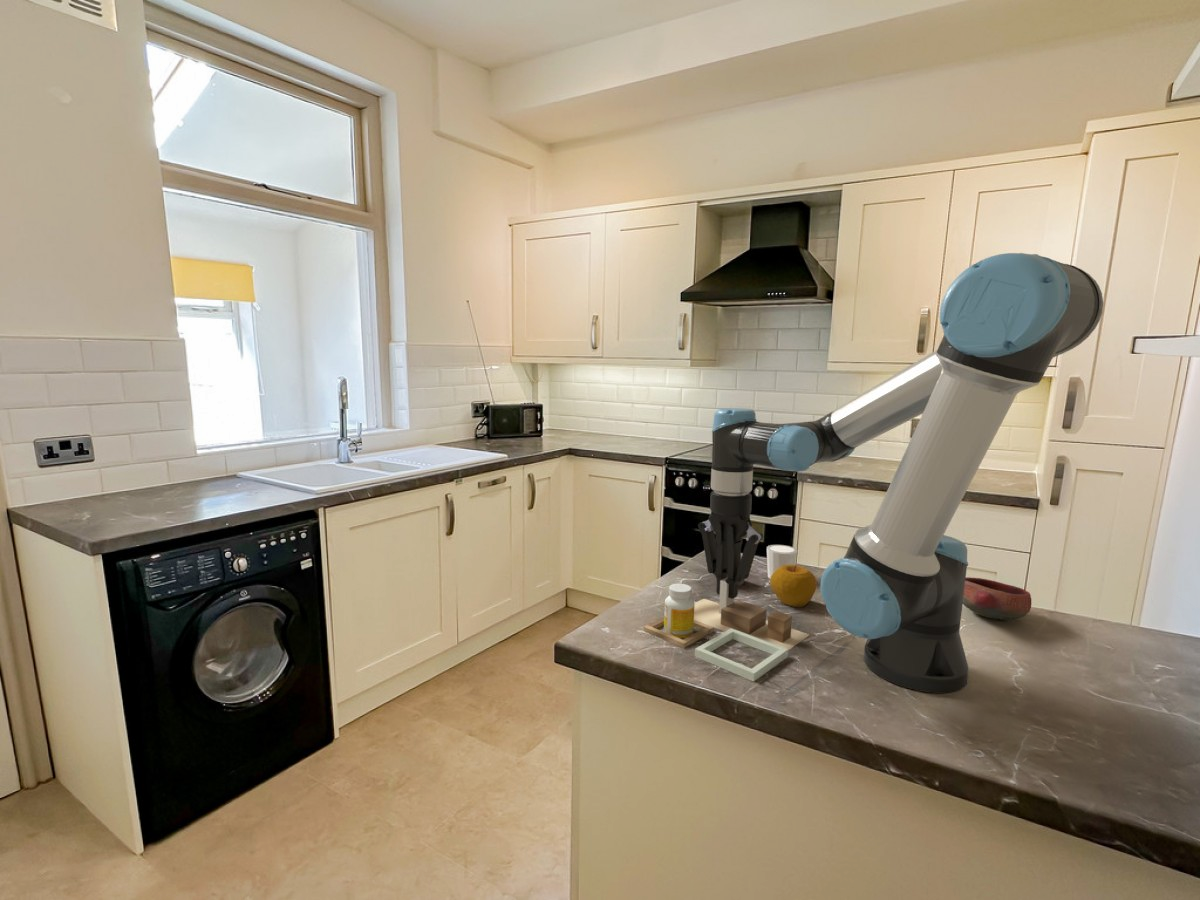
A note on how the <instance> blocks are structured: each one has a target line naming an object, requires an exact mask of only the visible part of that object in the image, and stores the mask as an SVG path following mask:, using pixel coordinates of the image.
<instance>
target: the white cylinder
mask: <svg viewBox="0 0 1200 900" xmlns="http://www.w3.org/2000/svg"><path fill="white" fill-rule="evenodd" d="M797 555H798V550H797V549H796V548H795V547H792V546H790V545H784V544H770V545H768V546H766V562H767V563H766V564H767V578H768V579H770V578H771V575H772V574H773V573H774V572H775V571H776V570H777V569H778V568H779V567H781V566H783V565H796V560H797Z"/></svg>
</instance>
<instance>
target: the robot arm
mask: <svg viewBox="0 0 1200 900" xmlns="http://www.w3.org/2000/svg"><path fill="white" fill-rule="evenodd" d="M1103 308H1104V298H1103V293H1102V290H1101V288H1100V285H1099V283H1098V282H1097V280H1095V279H1094V278H1093V277H1092V275H1090V273H1088V272H1087V271H1085V270H1083V269H1082V268H1079V267H1077V266H1075V265H1072V264H1067V263H1063V262H1060V261H1057V260H1054V259H1052V258H1050V257H1046V256H1041V255H1039V254H1038V253H1033V254H1031V253H1024V252H1019V253H1018V252H1007V253H1000V254H995V255H992V256H988V257H986V258H984V259H981V260H979V261H978V262H976V263H973V264H972V265H970V266H969V267H967V268H965V269H964V271H962V272H961V273H959V275H958V276H957V277H956V278H955V279H954V280H953V281H952V283H951V284H950V286H948V289H946V291H945V294H944V296H943V299H942V301H941V305H940V310H939V323H940V325H941V328H942V332H943V337H942V338H941V341H940V343H939V346H938V348H937V349H935V350H934V351H933V352H931V353H929V354H927V355H926V356H924V357H922V358H921V359H919V360H917V361H915V362H914V363H912V364H910V365H908V366H907V367H906V368H904V369H902V370H900V371H898V372H897V373H895V374H893V375H892V376H889V377H888V378H887V379H885V380H883V381H882V382H879V383H878V384H876V385H875V386H872V387H871V388H870V389H868V390H867V391H864V392H862V393H861V394H859V395H857V396H856V397H855V398H853V399H850V400H849V401H847V402H846V403H844V404H842V405H841V406H839V407H836V408H835V409H834V410H833V411H831V412H829V413H827V414H826V415H824V416H822V417H821V418H819V419H816V420H812V421H811V420H809V421H802V422H800V421H799V422H790V423H789V422H788V423H787V422H786V423H771V422H761V421H758V420H757V417H756V415H757V414H756V411H755V410H753V409H751V408H739V407H725V408H723V407H722V408H719V409H717V410H716V411H715V412H714V414H713V422H712V423H713V424H712V430H711V434H712V438H711V439H712V441H711V442H712V443H711V444H712V446H711V447H712V450H711V452H712V453H711V454H712V455H711V473H710V489H711V490H712V491H711V492H710V497H709V498H710V499H709V500H710V501H709V503H710V505H709V509H710V511H711V512H710V514H709V516H708V519H707V520H705V521H702V522H698V524H697V527H698V530H699V531H700V534H701V537H702V543H703V549H704V555H705V561H706V567H707V571H708V573H709V574H711V575H715V576H716V578H717V582H716V594H717V595H718V596H719V602H718V603H719V613H720V614H721V609H722V608H724V607H726V606H728V605H730V604H732V603H734V602H735V599H736V598H737V596H738V593H739V592H738V591H739V586H738V582H741V581H743V580H744V581H745V580H747V579H748V578H749V575H750V572H751V569H752V566H753V562H754V558H755V555H756V552H757V548H758V545H759V544H760V542H761V541H762V540H763V539H764V534H763V533H762V532H757V531H756V530H755V529H754V528H753V525H752V524H753V523H752V520H751V513H752V503H753V502H752V499H753V498H752V497H753V495H752V494H751V492H752V490H753V478H754V477H753V475H754V465H757V466H763V467H767V468H771V469H772V468H773V469H777V470H781V471H785V472H789V471H790V472H792V471H793V472H800V473H801V472H804V471H807V470H808V469H809V468H810V467H811V466H812V465H814V464H818V463H819V464H820V463H827V462H828V463H829V462H830V463H831V462H837V461H839V460H842V459H845V458H848V457H849V456H850V455H852V453H853V452H854V451H855V449H856V448H858V447H860V446H861V445H864V444H865V443H867V442H869V441H871V440H874V439H875V438H878V437H879V436H881V435H883V434H885V433H887V432H890V431H892V430H893V429H896V428H897V427H899V426H900V425H901V426H902V425H903V424H904V423H908V422H909V421H910V420H911V421H912V420H913V419H915V418H918V416H921V417H920V419H919V421H918V423H917V424H916V425H917V426H916V428H915V429H914V432H913V433H912V436H911V438H910V441H909V443H908V444H907V447H906V449H905V451H904V454H903V455H902V458H901V460H900V461H899V464H898V466H897V469H896V471H895V473H894V476H893V477H892V479H891V482H890V484H889V487H888V489H887V490H886V492H885V494H884V496H883V499H882V502H881V503H880V506H879V508H878V510H877V512H876V514H875V517H874V519H873V520H872V523H871V524H870V525H867V526H863V527H859V528H858V529H857V530H856V531H855V533H854V535H853V536H852V539H851V542H850V544H849V546H848V549H847V551H846V553H845V555H844V556H843V558H839V559H836V560H834V561H833V562H832V563H830V564H829V565H828V566H827V567H826V568H825V569H824V571H823V573H822V575H821V579H820V585H819V586H820V588H819V589H820V595H821V598H822V599H821V600H822V601H823V602H824V604H825V606H826V607H825V608H826V610H827V613H828V614H829V615H830V616H831V618H832V619H833V621H834V622H835V623H836V624H837V626H839V627H841V628H842V630H844V631H846V633H849V634H850V635H852V636H855V637H857V638H861V639H866V642H865V643H864V644H865V645H864V652H863V661H864V663H865V665H866V666H867V667H868V669H869V670H870V671H872V672H873V673H874V674H875V675H876V676H878V677H880V678H882V679H884V680H886V681H888V682H890V683H892V684H895V685H897V686H900V687H904V688H907V689H911V690H915V691H920V692H925V693H931V694H932V693H934V694H944V693H945V694H946V693H953V692H958V691H960V690H962V689H964V688H965V687H966V686H967V684H968V679H969V664H968V660H967V657H966V653H965V649H964V644H963V641H962V639H961V638H962V637H961V634H960V631H961V630H960V629H961V622H962V621H961V620H962V611H963V596H964V587H965V578H967V577H966V576H967V569H968V568H967V567H968V566H969V562H968V547H967V545H966V544H965V543H964V542H963V541H961V540H960V539H957V538H955V537H952V536H948V535H945V533H946V532H947V529H948V526H949V525H950V524H951V521H952V519H953V518H954V516H955V513H956V512H957V509H958V508H959V505H960V504H961V502H962V501H963V498H964V497H965V495H966V492H967V491H968V488H969V487H970V484H971V483H972V480H973V479H974V477H975V475H976V473H977V471H978V470H979V467H980V465H981V464H982V462H983V459H984V458H985V456H986V454H987V452H988V450H989V448H990V446H991V445H992V443H993V441H994V439H995V437H996V435H997V433H998V431H999V429H1000V427H1001V425H1002V423H1003V422H1004V420H1005V418H1006V416H1007V414H1008V412H1009V410H1010V409H1011V406H1012V405H1013V402H1014V401H1015V399H1016V397H1017V395H1018V394H1019V393H1021V392H1022V391H1025V390H1028V389H1031V388H1033V387H1036V386H1038V385H1039V384H1040V382H1041V381H1042V379H1043V376H1044V375H1045V373H1046V371H1047V370H1048V368H1049V366H1050V364H1051V362H1052V360H1053V358H1056V357H1057V356H1060V355H1064V354H1065V353H1068V352H1069V351H1071V350H1074V349H1075V348H1076V347H1077V346H1080V345H1081V344H1082V343H1083V342H1084V341H1086V340H1088V338H1089V337H1090V336H1091V335H1092V333H1093V332H1094V331H1095V329H1096V328H1097V326H1098V325H1099V322H1100V320H1101V318H1102V315H1103V311H1104V309H1103ZM745 536H746V538H745ZM744 538H745V540H746V542H745V544H744V548H743V552H742V546H743V543H744V542H743V541H744ZM741 554H742V555H741ZM715 576H714V577H715ZM726 576H727V578H726Z"/></svg>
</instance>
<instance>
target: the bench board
mask: <svg viewBox="0 0 1200 900" xmlns="http://www.w3.org/2000/svg"><path fill="white" fill-rule="evenodd" d="M694 603H695V607H694V620H696V621H698V622H701V623H704V624H706V625H709V626H712V627H714V629H716V630H719V631H722V632H723V633H724V632H725V631H727V630H729V629H731V628H730V627H727V626H724V625H721V614H720V613H719V602H716V601H712V600H710V599H707V598H702V599H700V600H698V601H696V602H694ZM792 621H793V616H792V615H789V614H787V613H783V612H781V611H774V612H772V613H771V614H769V615H768V616H767V619H766V625H764V626H762V627H761V628H759V629H758V630H756V631H754V632H753V633H751V634H749V635H750V636H753V637H756V638H759V639H761V640H764V641H767V642H769V643H772V644H775V645H777V646H780V647H783V648H786V649H788V651H790V650H791V649H793V648H794V647H795V646H797V645H798V644H799V643H801V642H803V641H804V640H805V639H807V638H808V637H809V636H811V634H808V633H806V632H803V631H802V630H797V629H794V628H792ZM734 630H735V629H734ZM737 631H738V630H737ZM742 633H743V632H742ZM745 634H746V633H745Z"/></svg>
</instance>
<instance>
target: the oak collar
mask: <svg viewBox="0 0 1200 900" xmlns="http://www.w3.org/2000/svg"><path fill="white" fill-rule="evenodd" d="M660 627H661V628H662V627H664V616H663V617H661V618H660V619H657V620H655V621H653V622H651V623H649V624H647V625H644V626H643V632H644V633H647V634H649V635H651V636H655V637H657V638H659V639H661V640H664V641H666V642H667V643H668V642H669V643H671V644H672V645H676V646H678V647H680V648H682V649H685V648H686V647H688V646H690V645H692V644H694V643H696V642H698V641H700V640H702V639H703V638H705V637H706V636H708V635H710V634H712V633H713V632H714V629H715V628H714V627H712V626H709V625H706V624H704V623H701V622H698V621H696V620H694V627H693V628H696V629H698V631H695V633H694V632H693V634H692V635H691V636H689V637H687V638H677V637H675V636H673V635H670V634H668V633H665V632H664V630H663V631H662V630H660V629H659V628H660Z"/></svg>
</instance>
